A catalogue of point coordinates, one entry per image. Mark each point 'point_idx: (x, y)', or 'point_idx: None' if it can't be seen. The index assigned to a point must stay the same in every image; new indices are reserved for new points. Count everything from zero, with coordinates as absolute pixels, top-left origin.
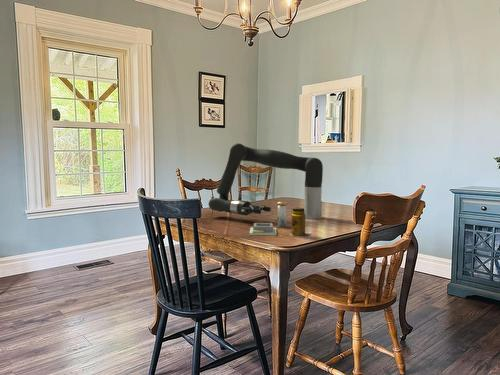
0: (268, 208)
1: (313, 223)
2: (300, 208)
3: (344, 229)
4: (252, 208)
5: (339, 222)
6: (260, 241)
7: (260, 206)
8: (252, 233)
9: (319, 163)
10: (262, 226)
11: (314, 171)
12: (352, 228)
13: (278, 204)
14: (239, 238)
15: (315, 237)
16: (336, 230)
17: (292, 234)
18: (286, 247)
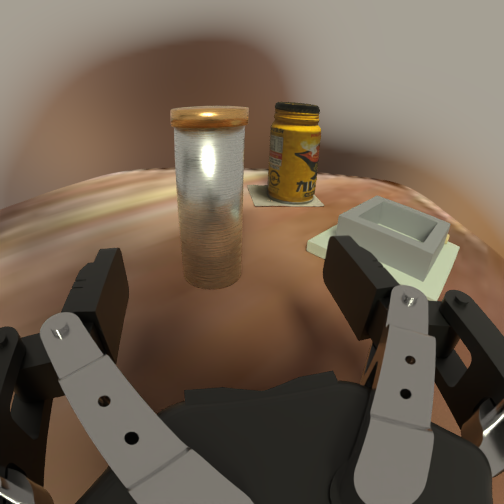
0: (116, 272)
1: (52, 237)
2: (289, 103)
3: (120, 180)
4: (417, 297)
5: (16, 213)
6: (435, 213)
7: (108, 362)
8: (447, 243)
9: None
10: (414, 211)
11: None
12: (97, 179)
13: (247, 121)
14: (488, 249)
15: None
16: (145, 181)
17: (312, 197)
18: (393, 182)
